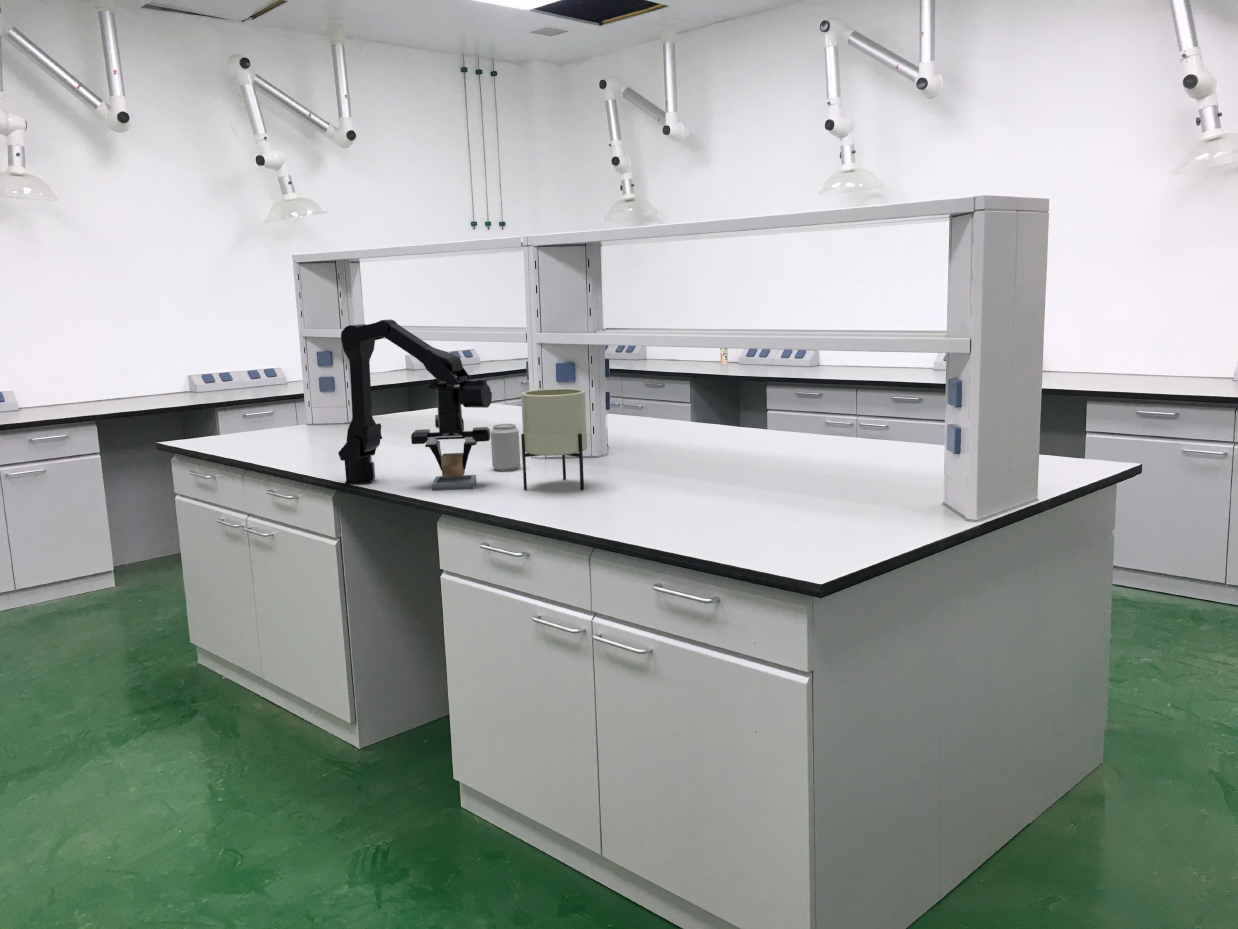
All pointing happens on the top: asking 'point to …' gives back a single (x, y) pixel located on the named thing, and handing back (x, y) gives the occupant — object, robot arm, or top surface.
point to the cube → (452, 465)
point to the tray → (454, 482)
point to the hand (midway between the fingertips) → (453, 470)
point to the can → (505, 447)
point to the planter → (554, 425)
